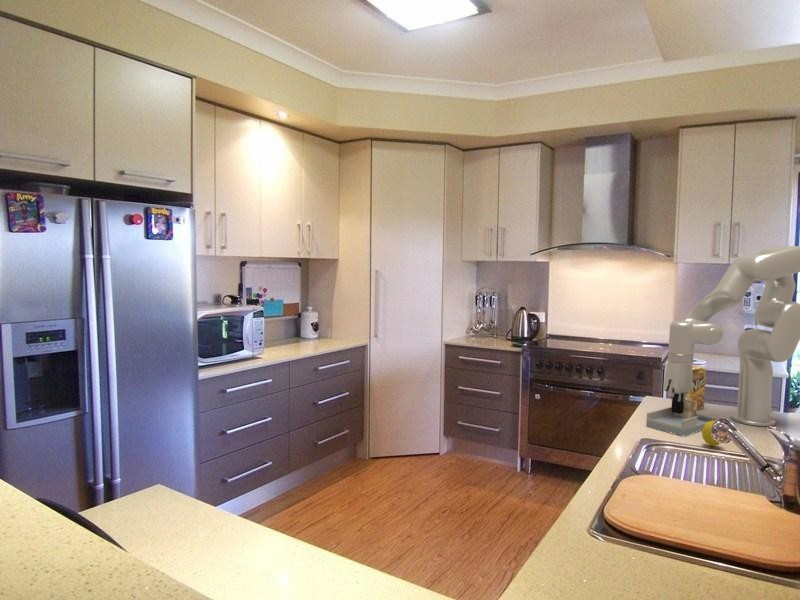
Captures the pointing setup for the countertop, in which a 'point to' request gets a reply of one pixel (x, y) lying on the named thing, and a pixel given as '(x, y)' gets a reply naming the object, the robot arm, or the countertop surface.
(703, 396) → the candy box
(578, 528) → the countertop surface
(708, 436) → the lemon
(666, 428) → the pale blue tray
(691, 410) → the block
